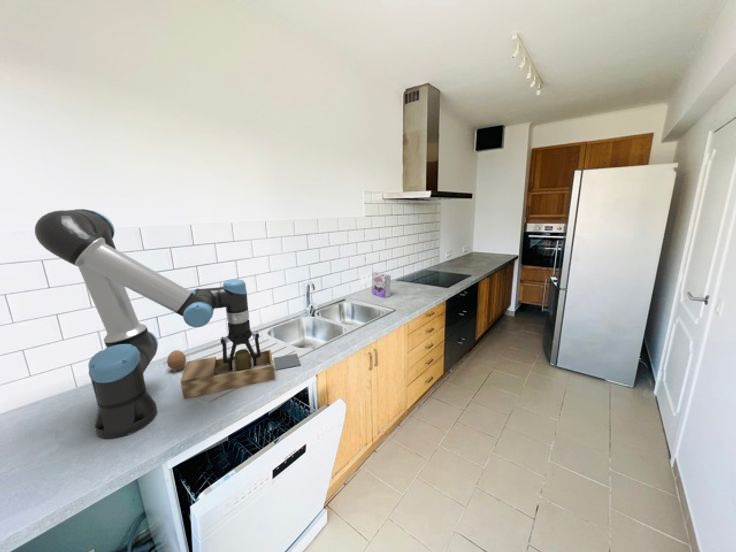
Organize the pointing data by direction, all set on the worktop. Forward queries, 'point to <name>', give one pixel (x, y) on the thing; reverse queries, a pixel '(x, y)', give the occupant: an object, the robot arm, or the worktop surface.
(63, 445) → the worktop surface
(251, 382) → the crate
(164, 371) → the worktop surface
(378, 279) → the candy box
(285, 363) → the slate mat
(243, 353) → the cork
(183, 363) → the egg
